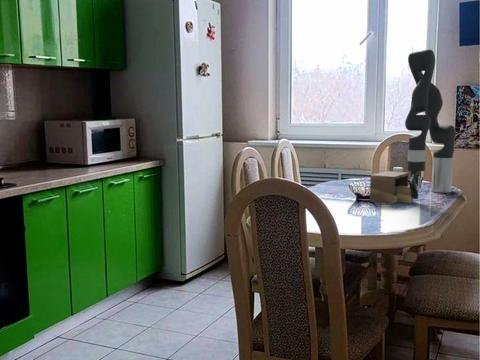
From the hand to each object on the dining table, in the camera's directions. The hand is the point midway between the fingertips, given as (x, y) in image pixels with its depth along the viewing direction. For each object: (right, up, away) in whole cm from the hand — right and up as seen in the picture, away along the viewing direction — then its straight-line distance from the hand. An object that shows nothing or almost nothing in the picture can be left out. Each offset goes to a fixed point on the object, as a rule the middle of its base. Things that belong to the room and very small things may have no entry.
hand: (415, 198), depth 244 cm
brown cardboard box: (-10, -1, +7) cm, 12 cm away
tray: (-6, -1, +4) cm, 8 cm away
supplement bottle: (-1, +1, +25) cm, 26 cm away
